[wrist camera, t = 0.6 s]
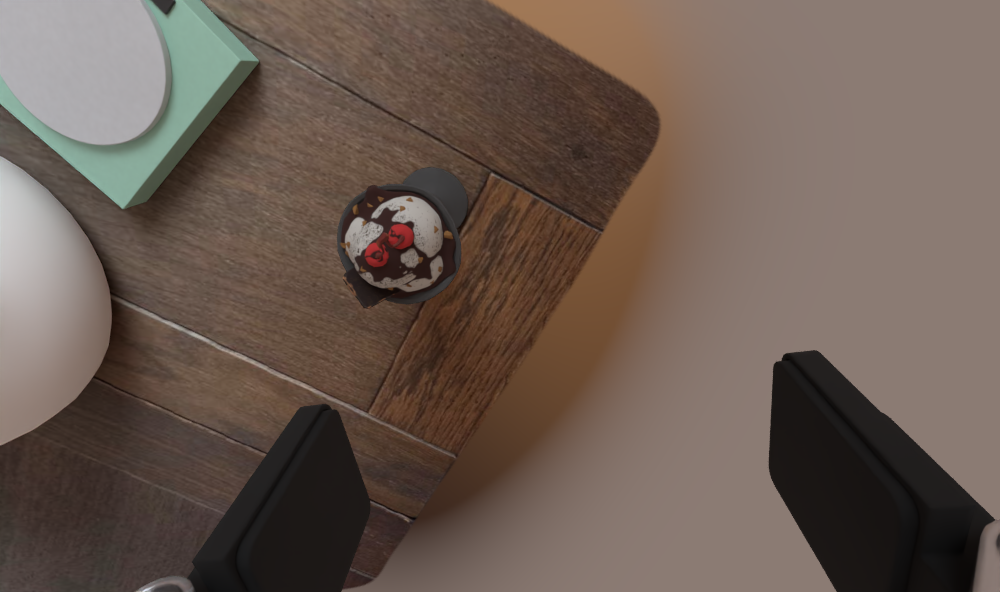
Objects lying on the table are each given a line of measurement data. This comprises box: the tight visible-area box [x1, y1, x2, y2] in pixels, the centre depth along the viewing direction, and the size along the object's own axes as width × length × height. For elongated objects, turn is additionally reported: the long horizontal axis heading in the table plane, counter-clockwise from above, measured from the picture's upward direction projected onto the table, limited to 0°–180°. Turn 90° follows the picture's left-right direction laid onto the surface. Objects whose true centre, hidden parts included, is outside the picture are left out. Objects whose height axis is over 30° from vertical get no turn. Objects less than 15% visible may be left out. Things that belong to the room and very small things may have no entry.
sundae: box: [337, 167, 468, 309], centre depth 29 cm, size 7×7×15 cm
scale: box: [0, 0, 259, 209], centre depth 32 cm, size 14×14×3 cm
